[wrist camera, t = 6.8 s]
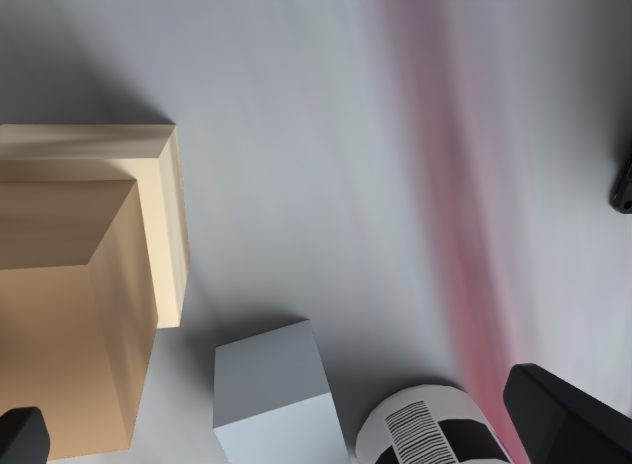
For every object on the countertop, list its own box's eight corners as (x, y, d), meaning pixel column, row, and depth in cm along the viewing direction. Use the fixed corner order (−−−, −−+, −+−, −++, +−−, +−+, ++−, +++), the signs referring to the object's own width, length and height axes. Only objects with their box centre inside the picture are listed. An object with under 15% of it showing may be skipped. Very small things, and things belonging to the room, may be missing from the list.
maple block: (176, 123, 16) (158, 158, 12) (190, 257, 19) (179, 326, 14) (5, 123, 15) (-85, 161, 11) (44, 265, 18) (-16, 343, 13)
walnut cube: (158, 319, 14) (129, 448, 10) (-7, 333, 13) (-122, 485, 9) (136, 179, 12) (87, 264, 8) (-63, 184, 11) (-251, 285, 7)
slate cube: (309, 318, 22) (330, 392, 17) (327, 384, 24) (350, 464, 20) (215, 346, 21) (212, 429, 17) (243, 411, 24) (247, 498, 19)
